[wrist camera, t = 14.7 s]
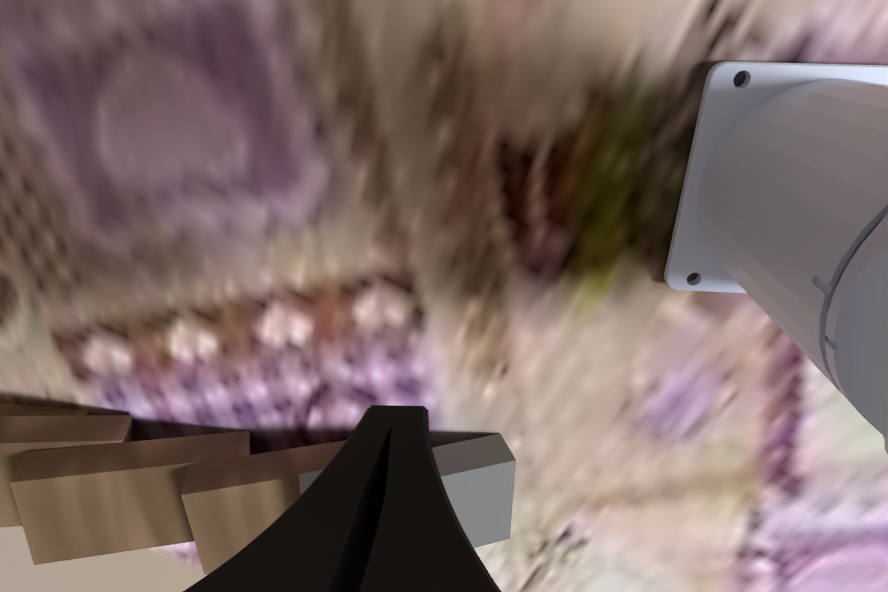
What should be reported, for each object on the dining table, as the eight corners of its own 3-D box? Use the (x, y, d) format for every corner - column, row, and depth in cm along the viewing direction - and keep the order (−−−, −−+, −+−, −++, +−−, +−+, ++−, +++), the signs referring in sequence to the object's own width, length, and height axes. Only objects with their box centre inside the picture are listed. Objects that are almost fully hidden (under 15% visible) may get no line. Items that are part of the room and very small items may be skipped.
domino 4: (515, 459, 24) (301, 506, 22) (509, 538, 26) (314, 588, 24) (500, 433, 26) (298, 474, 23) (495, 509, 28) (310, 554, 25)
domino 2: (249, 456, 25) (9, 482, 22) (252, 532, 27) (34, 564, 24) (249, 430, 27) (25, 451, 24) (252, 504, 29) (47, 531, 26)
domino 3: (400, 459, 24) (181, 495, 23) (404, 536, 27) (204, 574, 25) (394, 432, 26) (189, 464, 24) (398, 507, 28) (210, 541, 26)
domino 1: (122, 440, 25) (-137, 446, 22) (126, 519, 27) (-111, 534, 24) (131, 415, 26) (-110, 417, 23) (134, 491, 28) (-88, 502, 25)
